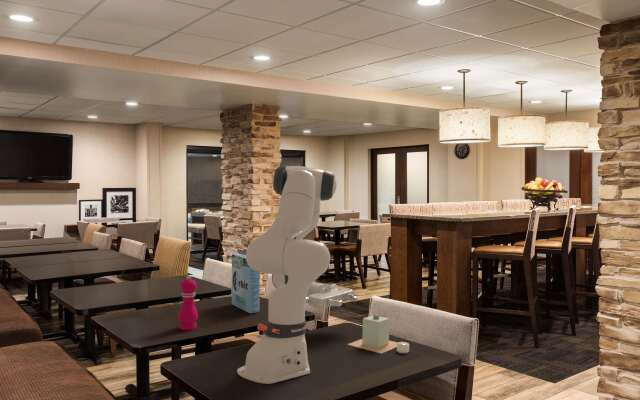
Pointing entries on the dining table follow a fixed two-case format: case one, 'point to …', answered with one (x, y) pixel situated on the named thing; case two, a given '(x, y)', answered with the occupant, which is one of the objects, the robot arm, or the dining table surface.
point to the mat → (378, 350)
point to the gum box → (245, 285)
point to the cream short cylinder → (403, 347)
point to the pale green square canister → (375, 331)
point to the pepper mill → (188, 305)
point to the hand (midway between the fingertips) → (348, 301)
